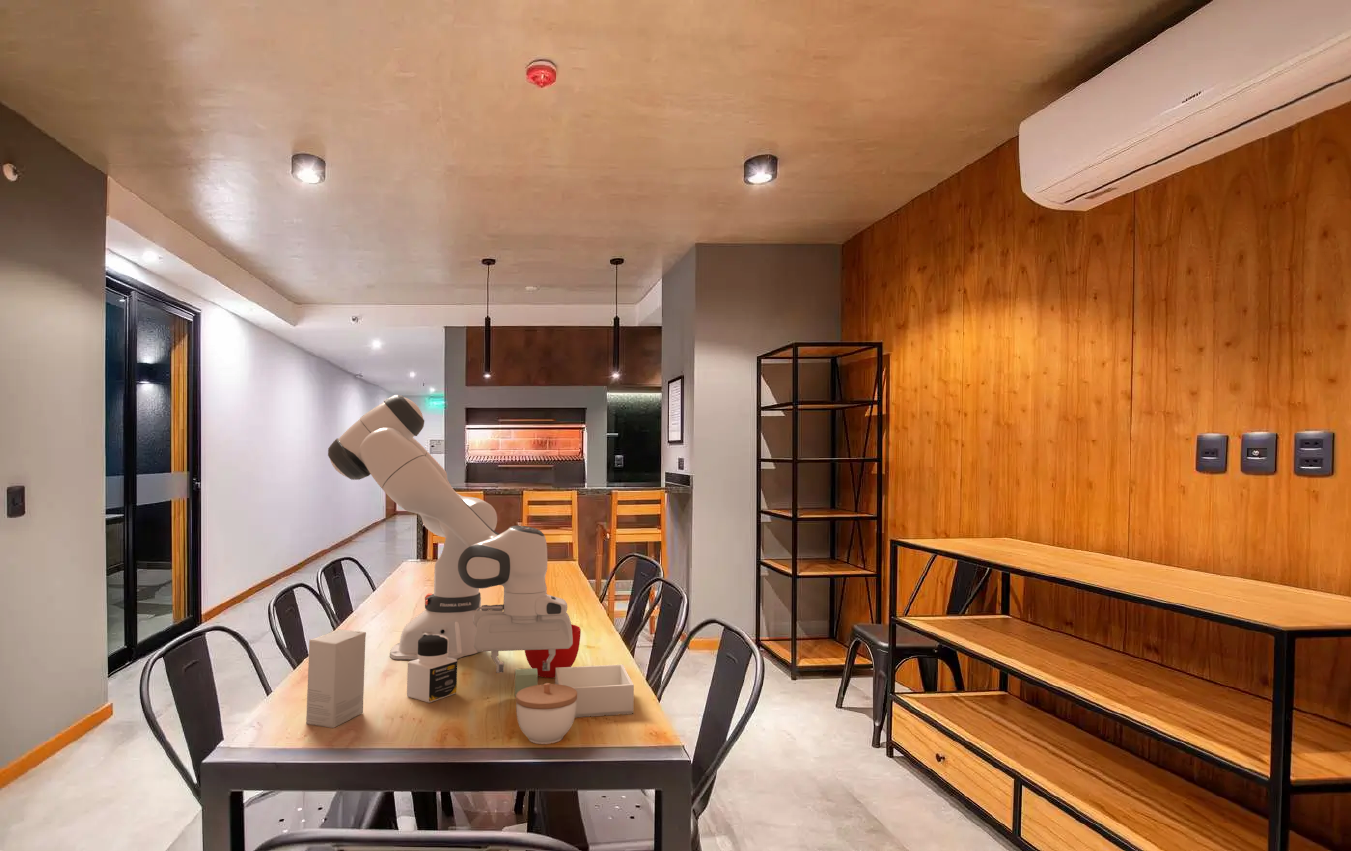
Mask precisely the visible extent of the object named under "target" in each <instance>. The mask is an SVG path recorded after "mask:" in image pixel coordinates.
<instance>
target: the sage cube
mask: <svg viewBox="0 0 1351 851" xmlns="http://www.w3.org/2000/svg"><path fill="white" fill-rule="evenodd" d="M514 673H515V675H514V698H516V694H517V693H518V692H519V691H520V690H522V689H524V688H527V687H530V686H534V685H538V679H539V678H538V677H539V676H538V673H537V668H533V669H532V668H515V672H514Z"/></svg>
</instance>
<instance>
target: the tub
mask: <svg viewBox="0 0 1351 851" xmlns="http://www.w3.org/2000/svg"><path fill="white" fill-rule="evenodd" d="M554 678H555V680H554V682H555V683H554V684H559V685H565V686H569V687H572V688H574V689H575V690H576V691H577V700H576V714H575V718H586V717H587V718H588V717H589V718H590V716H591V717H602V716H603V717H604V715H606V716H619V715H618V714H622V715H633V714H634V703H635V702H634V700H635V699H634V696H635V695H634V690H635V689H634V688H635V685H634V682H633V680H632V678H631V677H630V675H629V674H628V672H627V669H626V668H625V665H624V664H622V663H621V664H604V665H600V664H599V665H585V666H584V665H583V666H582V665H581V666H571V667H559V668H556V671H555V677H554ZM632 713H633V714H632Z"/></svg>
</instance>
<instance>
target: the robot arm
mask: <svg viewBox="0 0 1351 851" xmlns="http://www.w3.org/2000/svg"><path fill="white" fill-rule="evenodd" d="M424 426H425V418H424V416H423V412H422V410H421V409H420V407H419V406H418V405H417V404H416V403H415V402H414V401H413V400H411V399H409V398H407V397H404V396H403V395H401V394H394V395H391V396H389V397H387V398H386V399H384V400H383V402H381V403H380V404H378V405H377V406H375V407H374V408H372V409H370V410H369V411H367V412H366V413H364V415H362V416H361V417H359V419H358V420H357V421H356V422H355V423H353V424H352V425H351V426H350V427H349V428H348V429H347V430H345V431H344V433H342V434H341V436H340V437H339V438H336V439H334V440H333V442H332V443H331V444H330V446H329V447H328V450H327V456H328V458H329V460H330V463H331V465H332V467H333V468H334V470H335V471H337V472H338V473H339V474H340V475H342V476H344V477H346V478H348V479H350V480H351V481H355V480H356V481H357V480H358V481H359V480H360V481H361V480H362V479H364V478H367V477H370V475H371V477H372V478H373V480H374V481H375V482H376V483H377V485H378V486H379V487H380V489H381V490H383V492H384V493H385V494H386V495H387V497H388V498H390V499H391V501H393V502H394V503H395V504H397V505H398V506H399V507H400V508H401V509H403V510H405V511H406V512H409V513H413V514H417V515H419V516H420V518H421V522H422V524H423V526H424V527H425V529H426V530H428V531H429V532H430V533H433V534H434V535H436V536H437V537H442V538H445V539H444V544H443V548H442V551H441V553H440V556H439V558H438V559H437V560H436V562H434V563H435V564H434V572H433V573H434V577H433V579H434V580H433V593H431V592H430V593H427V594H426V595H425V597H424V610H423V611H422V612H421V613H420V614H418V615H416V616H415V617H414V618H412V619H411V620H410V621H408V623H407V624H406V625H404V628H402V631H401V634H400V639H399V643H396V644H394V645H393V646H392V647H391V648H390V651H389V657H390V658H391V659H392V660H416V659H419V658H418V640H419V639H420V638H422V637H424V636H427V635H443V636H446V637H447V638H448V639H449V646H448V656H447V657H449V658H453V659H457V660H459V659H460V658H463V657H466V656H471V655H475V654H477V653H480V652H482V653H483V652H490V654H491V655H490V657H491V659H492V660H493V662H494V664H495V665H496V666H495V667H496V668H495V669H496V670H495V671H496V672H495V673H496V674H497V673H498V674H500V673H504V670H505V669H504V668H505V667H504V666H505V662H504V661H500V660H499V658H498V656H499V653H500V652H510V651H515V652H516V651H525V650H544V649H549V654H550V655H549V657H548V659H547V660H545V661H543V671H550V662H551V661H552V659H553V658H554V656H555V651H556V649H569V648H570V647H571V646H572V644H573V636H572V626H571V624H572V622H571V618H570V615H569V614H568V612H567V611H568V603H567V601H566V600H565V599H564V598H562V597H557V596H553V595H550V594H547V593H548V591H547V588H548V587H547V583H546V574H547V571H548V544H547V539H546V536H545V534H544V533H543V531H541V529H538V528H536V527H531V526H526V525H512V526H509V527H508V529H506V530H504V531H503V532H501V533H500V532H496V531H495V530H496V527H497V523H498V514H497V511H496V510H495V508H494V507H493V505H492V504H490V503H488V502H487V501H485V500H483V499H481V498H478V497H472V496H464V495H461V494H459V493H457V492H456V490H455V489H454V488H453V487H452V485H451V483H450V482H449V480H448V473H447V471H446V470H445V469H444V468H443V467H442V465H440V463H439V462H438V461H437V460H436V459H435V457H434V456H432V455H431V454H430V453H429V452H428V450H427V449H426V448H425V447H424V446H423V445H422V444H421V443H420V442H418V441H417V439H415V437H418V435H420V433H421V431H422V430H423V428H424ZM497 586H503V604H492V605H490V604H489V605H488V604H482V597H481V592H480V589H483V590H484V589H487V588H488V589H489V588H491V587H497Z"/></svg>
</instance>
